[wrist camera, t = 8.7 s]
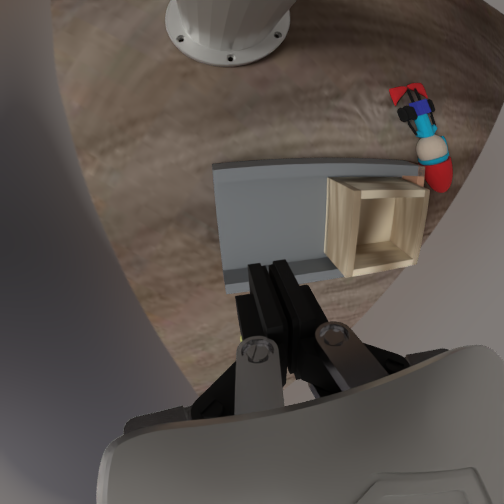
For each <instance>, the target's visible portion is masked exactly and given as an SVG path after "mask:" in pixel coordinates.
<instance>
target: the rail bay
mask: <svg viewBox="0 0 504 504" xmlns="http://www.w3.org/2000/svg"><path fill="white" fill-rule="evenodd" d="M212 170H213V181H214V192H215V202H216V212H217V222H218V231H219V240H220V249H221V258H222V266H223V275H224V282H225V289H226V294H232V293H239V292H247V291H250V288H249V277H248V264H255V263H260V264H261V266H264V265H265V266H266V268H267V270H268V273H269V265H271V264H273V261H276V260H283V259H286V261H287V263H288V265H289V267H290V268H291V270H292V272H293V274H294V276H295V278H296V280H297V282H298V284H303V283H309V282H316V281H322V280H328V279H334V278H340V277H344V275H343V274H342V273H341V272H340V271H339V269H338V268H337V267H336V266H335V265H334V263H333V262H332V261H331V260H330V259H329V258H328V256H327V255H326V254H325V253H324V241H325V224H326V201H327V177H399V178H402V179H404V180H407V181H410V182H412V183H415V184H417V185H419V186H422V187H424V177H425V166H421V165H418V164H415V163H412V162H408V161H405V160H391V159H371V158H290V159H268V160H253V161H239V162H228V163H218V164H212Z"/></svg>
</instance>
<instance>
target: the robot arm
mask: <svg viewBox="0 0 504 504" xmlns="http://www.w3.org/2000/svg"><path fill="white" fill-rule="evenodd" d="M295 2H296V0H171V1H170V2H169V5H168V7H167V10H166V16H165V23H166V29H167V32H168V35H169V37H170V39H171V40H172V42H173V44H174V45H175V46H176V47H177V48H178V49H179V51H181V52H182V53H183V54H185V55H186V56H188V57H189V58H191V59H193V60H195V61H197V62H200V63H204V64H207V65H212V66H219V67H235V66H241V65H246V64H250V63H253V62H256V61H258V60H260V59H262V58H264V57H266V56H267V55H269V54H270V53H271V52H273V51H274V50H275V49H276V48H277V47H278V46H279V45H280V44H281V43H282V41H283V40H284V39H285V37H286V35H287V32H288V30H289V26H290V11H289V9H290V7H291V6H292V5H293V4H294V3H295ZM274 36H277V37H278V38H275V37H274ZM181 39H183V40H184V41H183V42H179V40H181ZM228 58H232V59H233V61H231V62H230V61H228ZM248 277H249V288H250V294H246V295H239V296H235V299H236V307H237V314H238V320H239V326H240V332H241V337H242V342H241V343H240V344H239V346H238V348H237V352H236V361H235V362H234V363H233V364H232V365H231V366H230V367H229V368H228V369H227V370H226V371H225V372H224V373H223V374H222V375H221V376H220V377H219V378H218V379H217V380H216V381H215V382H214V383H213V384H212V385H211V386H210V387H209V388H208V389H207V390H206V391H205V392H204V393H203V394H202V395H201V396H200V397H199V398H198V399H197V400H196V401H195V402H194V404H193V405H191V406H188V407H183V406H178V407H174V408H171V409H167V410H163V411H159V412H154V413H150V414H145V415H141V416H136V417H134V418H131V419H130V420H129V421H128V422H126V424H125V426H124V431H123V434H124V435H122V436H120V437H118V438H117V439H115V440H114V441H112V442H111V443H110V444H109V445H108V447H107V448H106V450H105V452H104V454H103V457H102V460H101V463H100V468H99V474H98V482H97V497H96V498H97V499H96V504H504V361H503V359H502V358H501V357H500V356H499V355H498V354H497V353H496V352H495V351H494V350H492V349H491V348H489V347H487V346H483V345H469V346H463V347H458V348H455V349H452V350H448V349H436V350H431V351H426V352H420V353H414V354H408V355H406V357H402V356H400V355H398V354H395V353H392V352H389V351H386V350H383V349H380V348H377V347H374V346H371V345H368V344H365V343H362V341H361V340H360V339H359V338H358V337H357V335H356V334H355V333H354V332H353V331H352V330H351V328H349V327H348V326H347V325H345V324H343V323H341V322H333V321H330V322H328V320H327V318H326V316H325V314H324V313H323V311H322V309H321V307H320V305H319V304H318V302H317V300H316V298H315V296H314V295H313V293H312V291H311V289H310V287H309V286H308V285H302V286H299V284H298V282H297V280H296V278H295V276H294V274H293V272H292V270H291V268H290V267H289V265H288V263H287V261H286V259H283V260H276V261H273V264H271V265H269V273H268V270H267V268H266V266H265V265H264V266H261V264H260V263H255V264H248ZM287 367H288V370H289V373H290V374H292V373H294V375H295V378H296V380H298V379H302V380H303V381H306V382H308V385H309V388H310V390H311V392H312V393H313V395H314V397H315V399H314V400H310V401H306V402H302V403H298V404H293V405H289V406H284V398H283V386H284V385H285V384H286V374H287Z"/></svg>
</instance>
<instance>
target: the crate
mask: <svg viewBox="0 0 504 504" xmlns="http://www.w3.org/2000/svg"><path fill="white" fill-rule="evenodd" d="M429 194H430V190H429V189H427V188H424V187H422V186H419V185H417V184H415V183H412V182H410V181H407V180H404V179H402V178H399V177H327V201H326V224H325V241H324V253H325V254H326V255H327V256H328V258H329V259H330V260H331V261H332V262H333V263H334V265H335V266H336V267H337V268H338V269H339V271H340V272H341V273H342V274H343V275H344V277H345V278H347V277H353V276H359V275H364V274H370V273H375V272H380V271H386V270H391V269H396V268H401V267H406V266H411V265H415V264H417V261H418V256H419V252H420V247H421V243H422V238H423V232H424V227H425V221H426V215H427V209H428V202H429Z"/></svg>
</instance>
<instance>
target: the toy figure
mask: <svg viewBox="0 0 504 504" xmlns="http://www.w3.org/2000/svg"><path fill="white" fill-rule="evenodd" d="M407 87H408V88H409V89H411V90H413V91H415V93H416V96H417V98H418V100H419V101H416V102H414V100H413V98H412V95H411V93H410V91H409V89H407ZM407 87H395V88H391V89H389V92H390V95H391V98H392V100H393V102H394V105H395V106H396V104H397V102H398V100H399V99H400V98H401V97H402V96H403V94H404V93H405V92H406V91H407V93H408V95H409V97H410V100H411V102H412V103H410V104H409V106H410V107H409V106H404V107H403V108H399V109H398V110H397V113H398V116H399V118H400V120H401V121H402V122H406V121H407V122H408V125H409V127H410V128H411V129H412V131H413V132H414V134H415V135H416V137H420V138H421V139H420V140H419V141H418V143H417V146H416V152H417V155H418V157H419V158H418V161H419V165H421V166H425V177H424V178H425V180H426V182H427V183H428V184H429V186H430V187H431V188H432V189H433V190H435V191H437V192H440V193H443V192H445V191H447V190H448V189H449V187H450V185H451V182H452V177H453V169H452V162H451V157H450V156H449V152H448V147H447V143H446V140H445V138H444V136H437V135H435V134H434V133H435V131H436V130H437V127H436V124H435V121H434V117H433V114H432V112H434V111H435V108H434V105H433V102H432V100H430V99H428V97H427V94H426V91H425V89H424V87H423V85H422V84H421V83H412V84H409V85H407ZM418 93H419V94H421V95H423V96H425V97H426V98H427V99H428V100H427V99H424V100H421V98H420V96H419V94H418ZM428 113H430V114H431V116H430V117H431V120H432V123H433V125H431V123H430V120H429V117H428V115H427V114H428ZM411 119H412V120H414V121H415V124H416V126H417V129H418V131H417V132H416V131H415V130H414V128H413V127H412V125H411V124H410V121H409V120H411Z"/></svg>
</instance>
